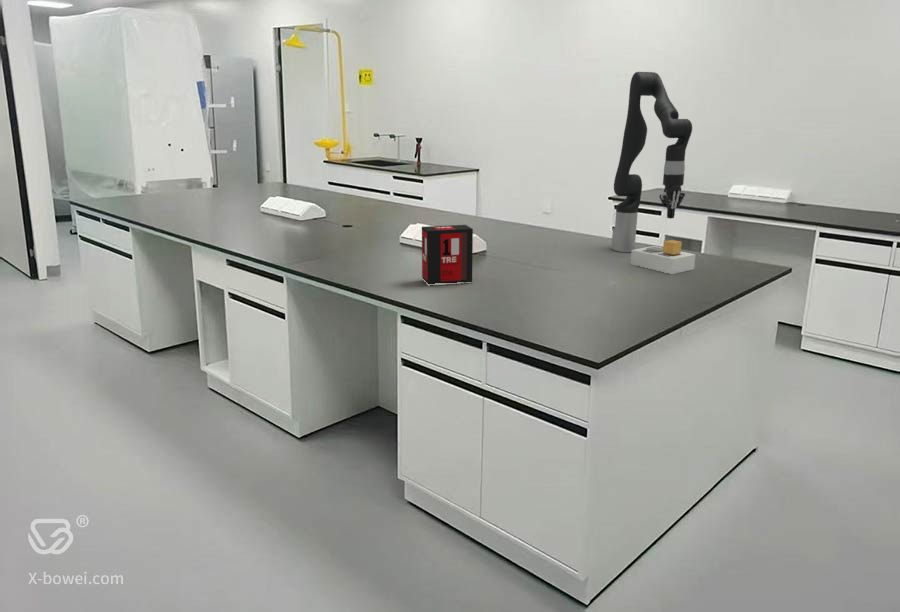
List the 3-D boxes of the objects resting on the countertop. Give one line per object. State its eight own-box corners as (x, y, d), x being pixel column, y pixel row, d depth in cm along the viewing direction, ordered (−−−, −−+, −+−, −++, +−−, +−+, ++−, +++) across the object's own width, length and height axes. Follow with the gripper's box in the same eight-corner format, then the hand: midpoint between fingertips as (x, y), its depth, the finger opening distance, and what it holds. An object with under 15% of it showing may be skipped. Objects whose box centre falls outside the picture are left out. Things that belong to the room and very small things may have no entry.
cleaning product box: (465, 277, 256) (465, 224, 250) (472, 283, 248) (472, 228, 242) (422, 280, 252) (421, 226, 246) (427, 286, 244) (427, 231, 238)
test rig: (630, 264, 277) (631, 249, 275) (652, 260, 285) (654, 245, 283) (671, 274, 261) (673, 258, 259) (693, 269, 269) (695, 254, 267)
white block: (645, 258, 276) (646, 247, 275) (653, 257, 278) (654, 246, 277) (655, 261, 272) (656, 249, 271) (662, 259, 275) (663, 248, 273)
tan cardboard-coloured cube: (662, 252, 268) (663, 241, 267) (670, 251, 271) (671, 239, 270) (672, 254, 265) (673, 243, 263) (680, 253, 267) (681, 241, 266)
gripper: (676, 171, 267) (673, 215, 272) (654, 173, 260) (651, 218, 264) (693, 172, 261) (689, 217, 266) (671, 174, 254) (667, 220, 259)
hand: (670, 218), depth 265 cm, fingers closed
